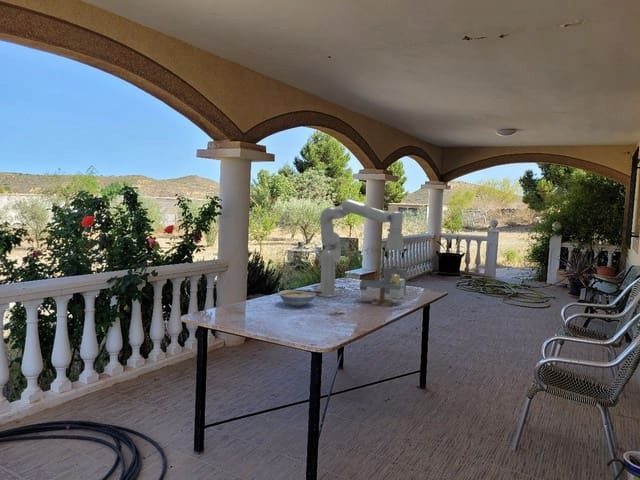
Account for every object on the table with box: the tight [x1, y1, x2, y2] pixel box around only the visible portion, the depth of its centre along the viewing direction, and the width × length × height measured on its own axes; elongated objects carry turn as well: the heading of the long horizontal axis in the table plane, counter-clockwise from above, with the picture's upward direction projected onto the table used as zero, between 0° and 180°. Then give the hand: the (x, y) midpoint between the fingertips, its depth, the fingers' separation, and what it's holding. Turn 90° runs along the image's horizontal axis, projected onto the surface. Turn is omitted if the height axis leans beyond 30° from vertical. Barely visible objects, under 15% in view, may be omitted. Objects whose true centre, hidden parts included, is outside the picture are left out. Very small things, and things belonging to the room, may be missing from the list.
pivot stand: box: [371, 287, 393, 308], centre depth 292 cm, size 12×18×11 cm, turn 170°
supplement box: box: [389, 279, 405, 300], centre depth 311 cm, size 7×7×13 cm
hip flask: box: [383, 264, 408, 295], centre depth 326 cm, size 16×4×20 cm, turn 69°
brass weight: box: [391, 274, 400, 285], centre depth 290 cm, size 5×5×7 cm
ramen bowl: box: [278, 288, 322, 307], centre depth 279 cm, size 25×23×8 cm
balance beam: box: [359, 279, 401, 291], centre depth 292 cm, size 25×10×5 cm, turn 80°
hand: (394, 258), depth 291 cm, fingers open, 9 cm apart
